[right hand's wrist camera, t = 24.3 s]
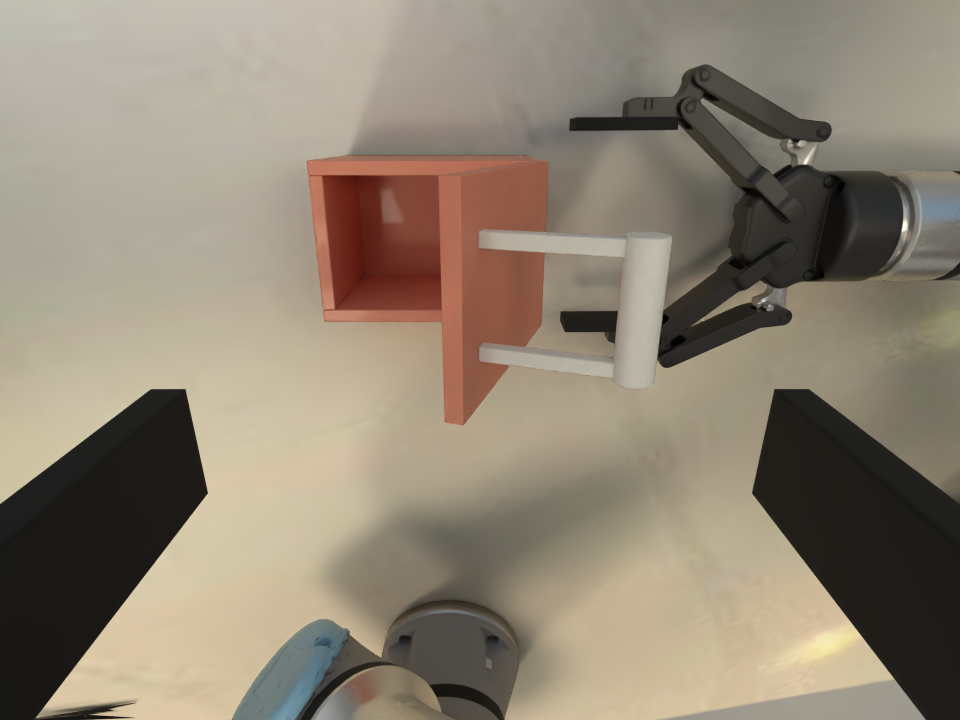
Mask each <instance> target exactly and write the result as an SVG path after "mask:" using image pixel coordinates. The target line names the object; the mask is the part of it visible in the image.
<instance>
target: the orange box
mask: <svg viewBox="0 0 960 720" xmlns="http://www.w3.org/2000/svg"><path fill="white" fill-rule="evenodd" d="M438 184H439V222H440V260H441V298H442V336H443V374H444V412H445V422H447V423H453V424H459V425H464V424H465V423H466V421H467V420H468V419H469V417H470V416H471V415H472V414H473V412H474V411H475V410H476V408H477V407H478V406H479V405H480V403H481V402H482V401H483V399H484V398H485V397H486V396H487V394H488V393H489V392H490V390H491V389H492V388H493V387H494V385H495V384H496V383H497V381H498V380H499V379H500V378H501V376H502V375H503V374H504V372H505V371H506V370H507V369H508V367H509V366H510V365H512V366H520V367H527V368H535V369H543V370H551V371H558V372H566V373H574V374H582V375H589V376H597V377H605V378H612V381H613V383H615V384H616V385H618V386H620V387H623V388H627V389H635V390H640V389H647V388H650V387H651V386H652V385H653V384H654V379H655V371H656V363H657V355H658V348H659V340H660V332H661V324H662V316H663V308H664V301H665V293H666V285H667V277H668V269H669V261H670V253H671V246H672V236H671V235H669V234H665V233H659V232H631V233H627V234H626V235H625V236H608V235H589V234H570V233H551V232H545V231H546V208H547V185H548V161H531V162H524V163H517V164H510V165H503V166H497V167H490V168H483V169H476V170H469V171H463V172H456V173H449V174H442V175H439V176H438ZM545 253H560V254H575V255H591V256H607V257H622V258H623V264H622V274H621V285H620V295H619V306H618V316H617V327H616V337H615V347H614V358H612V357H603V356H595V355H586V354H578V353H569V352H561V351H552V350H544V349H535V348H527V347H525V345H526V344H527V343H528V341H529V340H530V339H531V338H532V336H533V335H534V334H535V332H536V331H537V330H538V329H539V327H540V326H541V323H542V300H543V277H544V254H545Z"/></svg>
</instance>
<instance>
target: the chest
mask: <svg viewBox="0 0 960 720" xmlns="http://www.w3.org/2000/svg"><path fill="white" fill-rule="evenodd" d="M531 161H539V160H536V159H534V158H531V157H528V156H527V155H345V156H339V157H331V158H324V159H316V160H308V161H307V168H308V175H310V176H309V185H310V194H311V203H312V212H313V221H314V231H315V240H316V249H317V258H318V267H319V277H320V286H321V295H322V304H323V309H324V310H323V313H324V321H325V322H442V298H441V260H440V222H439V184H438V176H439V175H442V174H449V173H456V172H463V171H469V170H476V169H483V168H490V167H497V166H503V165H510V164H517V163H524V162H531Z"/></svg>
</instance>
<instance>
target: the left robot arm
mask: <svg viewBox="0 0 960 720" xmlns="http://www.w3.org/2000/svg"><path fill="white" fill-rule="evenodd" d="M702 98H704V99H705V100H707V101H709V102H710V103H712V104H714V105H716V106H717V107H719V108H721V109H722V110H724V111H726V112H728V113H729V114H731V115H733V116H734V117H736V118H738V119H740V120H741V121H743V122H745V123H746V124H748V125H750V126H752V127H753V128H755V129H757V130H758V131H760V132H762V133H763V134H765V135H767V136H769V137H772V138H775V139H780V140H781V142H780V146H781V149H782V150H783V151H784V152H786V153H788V154H789V155H790V157H791V164H790V165H787V166H785V167H784V168H782V169H781V170H779V171H778V172H776V173H775V174H772V173H771V172H770V171H769V170H767V169H766V168H764V167H763V166H761V165H760V164H759V163H758V162H757V161H756V160H755V159H754V158H753V157H752V156H751V155H750V154H749V153H748V152H747V151H746V150H745V149H744V147H743V146H742V145H741V144H740V143H739V142H738V141H737V140H736V139H735V138H734V137H733V136H732V135H731V134H730V133H729V132H728V131H727V130H726V129H725V128H724V127H723V125H722V124H721V123H720V122H719V121H718V120H717V119H716V118H715V117H714V116H713V115H712V114H711V113H710V112H709V111H708V110H707V109H706V108H705V107H704V106H703V105H702V103H701V102H700V101H701V99H702ZM678 124H679V125H680V126H681V127H682V128H683V129H684V130H685V131H686V132H687V133H688V134H689V135H690V136H691V137H692V138H693V139H694V140H695V141H696V142H697V143H698V144H699V145H700V147H701V148H702V149H703V150H704V151H705V152H706V153H707V154H708V155H709V156H710V157H711V158H712V159H713V160H714V161H715V162H716V163H717V164H718V165H719V166H720V167H721V168H722V169H723V170H724V171H725V172H726V173H727V174H728V175H729V176H730V177H731V180H732V182H733V183H734V184H735V185H736V186H737V187H738V188H739V189H740V190H741V191H742V192H743V193H744V195H743V197H742V198H741V199H740V201H739V203H738V204H735V207H734V213H733V217H734V228H733V231H732V233H731V235H730V238H729V245H728V248H730V249H731V252H732V255H733V256H731V257H730V258H729V259H727V260H726V261H725V262H723V263H722V264H721V265H720V266H719V267H718V268H717V271H716V272H715V273H713V274H712V275H711V276H709V277H708V278H707V279H705V280H704V281H703V282H701V283H700V284H699V285H697V286H696V287H695V288H693V289H692V290H690V291H689V292H688V293H686V294H685V295H684V296H682V297H681V298H680V299H678V300H677V301H676V302H674V303H673V304H672V305H670V306H669V307H668V308H666V309H665V310H664V311H663V316H662V324H661V332H660V340H659V348H658V355H657V361H658V362H659V363H660V364H661V365H662V366H663V367H664V368H669V367H672V366H674V365H677V364H679V363H681V362H683V361H686V360H688V359H690V358H692V357H695V356H697V355H699V354H702V353H704V352H706V351H708V350H711V349H713V348H715V347H717V346H720V345H722V344H724V343H727V342H729V341H731V340H733V339H736V338H738V337H740V336H742V335H745V334H747V333H749V332H752V331H754V330H756V329H758V328H763V327H772V326H781V325H786V324H787V323H789V322H790V321H791V319H792V313H791V312H790V311H789V310H787V309H785V305H786V293H787V287H789V286H791V285H793V284H795V283H798V282H804V281H810V282H814V281H862V280H868V281H916V280H960V171H886V172H883V173H881V172H877V171H819V170H816V169H815V168H813V167H812V164H813V161H814V158H815V155H816V151H817V148H818V145H819V142H823V141H825V140H827V139H828V138H829V136H830V134H831V131H832V129H831V125H830V124H829V123H827V122H821V121H813V120H805V119H799V118H797V117H796V116H794V115H792V114H791V113H789V112H787V111H786V110H784V109H782V108H781V107H779V106H777V105H776V104H774V103H772V102H771V101H769V100H767V99H766V98H764V97H762V96H761V95H759V94H757V93H755V92H754V91H752V90H750V89H749V88H747V87H745V86H744V85H742V84H740V83H739V82H737V81H735V80H734V79H732V78H730V77H729V76H727V75H725V74H724V73H722V72H720V71H719V70H717V69H715V68H714V67H712V66H710V65H707V64H706V65H701V66H698V67H695V68H692V69H689V70H688V71H686V72H685V73H684V75H683V77H682V84H681V86H680V88H679V91H678V92H677V94H676V95H675V96H673V97H653V98H652V97H647V98H633V99H630V100H628V101H626V102H623V114H622V117H582V118H572V119H570V130H569V131H618V130H678ZM759 280H761V281H762V282H764V283H765V284H767V289H766V290H765V292H763V293H762V294H760V295H757V296H754V297H753V298H752V302H751V303H746V304H742V305H739V306H737V307H734V308H732V309H730V310H727V311H725V312H723V313H721V314H718V315H716V316H714V317H712V318H710V319H707V320H705V321H703V322H701V323H698V324H696V325H694V326H692V325H693V324H694V323H696V322H697V321H699V320H700V319H701V318H703V317H704V316H705V315H707V314H708V313H710V312H711V311H712V310H714V309H715V308H716V307H718V306H719V305H721V304H722V303H723V302H725V301H726V300H727V299H729V298H730V297H732V296H733V295H734V294H736V293H737V292H739V291H742V290H746V289H748V288H749V287H751V286H752V285H754V284H755V283H756V282H758V281H759ZM617 316H618V311H562V312H561V314H560V322H561V324H562V326H563V328H564V331H565V332H605V336H606V338H607V340H608V341H610V342H612V343H615V337H616V327H617ZM690 326H692V327H690ZM689 327H690V328H689ZM349 633H350V631H349V630H348V629H343V628H342V627H340V626H339V625H337V624H336V623H334V622H333V621H331V620H328V619H321V620H317V621H314V622H312V623H310V624H308V625H306V626H305V627H304V628H302V629H301V630H300V631H298V632H297V633H296V634H295V635H294V636H293V637H292V638H291V639H289V640H288V641H287V642H286V643H285V644H284V645H283V646H282V647H281V648H280V650H279V651H278V652H277V653H276V654H275V655H274V656H273V658H272V659H271V660H270V661H269V662H268V664H267V665H266V666H265V667H264V669H263V670H262V671H261V673H260V674H259V675H258V677H257V678H256V680H255V681H254V682H253V684H252V685H251V687H250V688H249V690H248V691H247V693H246V695H245V696H244V698H243V699H242V701H241V703H240V704H239V706H238V708H237V710H236V712H235V714H234V716H233V718H232V720H505V715H506V711H507V708H508V704H509V701H510V697H511V694H512V690H513V687H514V683H515V680H516V677H517V671H518V665H519V663H518V647H517V642H516V639H515V636H514V634H513V632H512V630H511V629H510V627H509V626H508V625H507V624H506V623H505V622H504V621H503V620H502V619H501V618H500V617H499V616H497V615H496V614H495V613H493V612H491V611H489V610H488V609H485V608H483V607H481V606H478V605H475V604H471V603H466V602H460V601H439V602H432V603H428V604H424V605H421V606H419V607H416V608H414V609H412V610H410V611H408V612H407V613H405V614H404V615H402V616H401V617H400V618H399V619H397V620H396V622H395V623H394V624H393V625H392V626H391V628H390V629H389V631H388V633H387V635H386V638H385V642H384V647H383V653H382V658H381V657H379V656H377V655H375V654H374V653H372V652H371V651H369V650H368V649H367V648H365V647H364V646H363V645H361V644H360V643H359V642H358V641H356V640H355V639H354V638H353V637H352V636H351V635H349Z"/></svg>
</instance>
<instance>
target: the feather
mask: <svg viewBox="0 0 960 720" xmlns="http://www.w3.org/2000/svg"><path fill="white" fill-rule="evenodd" d="M130 704H134V703H130ZM125 705H129V704H124V705H117V706H111V707H104V708H98V709H91V710H85V711H78V712H72V713H66V714H59V715H53V716H46V717H40V718H35V719H34V720H94V719H119V718H132V717H115V716H98V715H90V714H97V713H98V712H101V713H104V712H106V711H111V712H112V711H114V710H110V709H111V708H116V707H120V706H125ZM124 716H125V715H124Z"/></svg>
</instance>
